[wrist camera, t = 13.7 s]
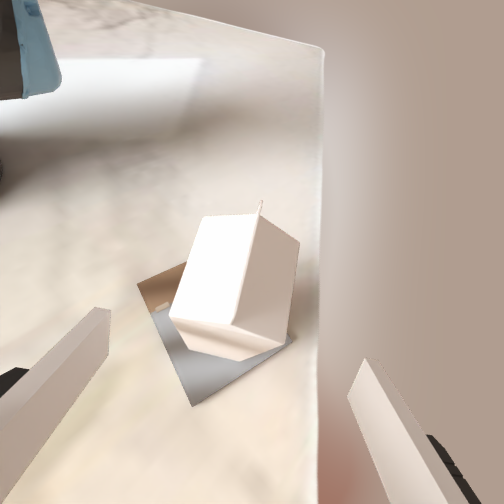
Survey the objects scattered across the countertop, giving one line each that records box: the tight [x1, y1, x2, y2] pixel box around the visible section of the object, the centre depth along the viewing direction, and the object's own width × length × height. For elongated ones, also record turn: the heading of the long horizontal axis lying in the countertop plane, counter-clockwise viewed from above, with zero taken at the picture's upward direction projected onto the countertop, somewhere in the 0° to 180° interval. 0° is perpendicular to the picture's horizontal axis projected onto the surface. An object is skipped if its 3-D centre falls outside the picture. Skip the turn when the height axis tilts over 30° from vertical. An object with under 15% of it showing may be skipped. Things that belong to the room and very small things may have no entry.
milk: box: [169, 200, 300, 362], centre depth 21 cm, size 6×6×22 cm
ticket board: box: [137, 262, 292, 407], centre depth 32 cm, size 15×13×1 cm
